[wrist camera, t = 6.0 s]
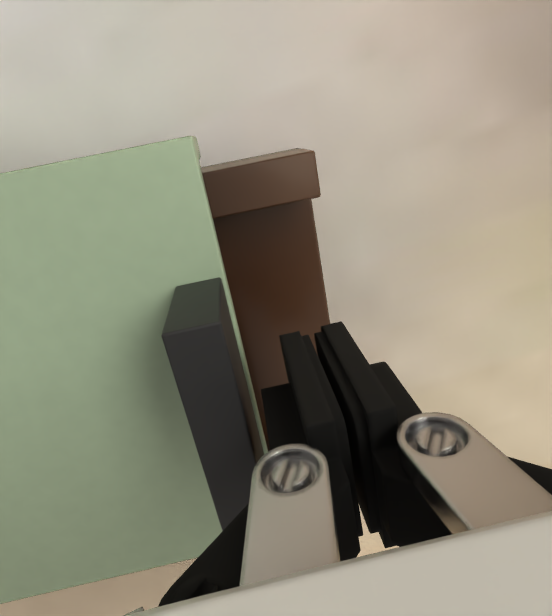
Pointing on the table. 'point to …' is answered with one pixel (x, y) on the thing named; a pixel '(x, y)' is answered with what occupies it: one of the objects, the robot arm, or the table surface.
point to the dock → (269, 255)
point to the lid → (116, 371)
